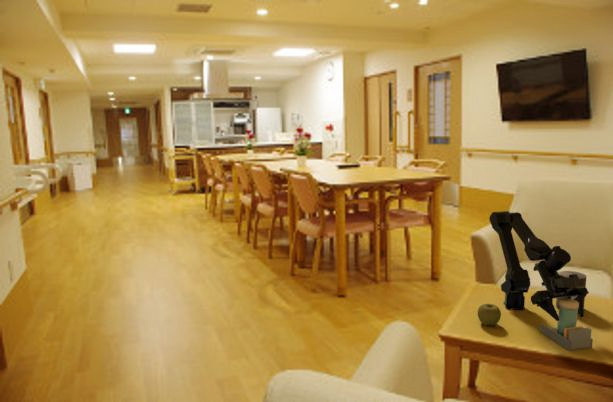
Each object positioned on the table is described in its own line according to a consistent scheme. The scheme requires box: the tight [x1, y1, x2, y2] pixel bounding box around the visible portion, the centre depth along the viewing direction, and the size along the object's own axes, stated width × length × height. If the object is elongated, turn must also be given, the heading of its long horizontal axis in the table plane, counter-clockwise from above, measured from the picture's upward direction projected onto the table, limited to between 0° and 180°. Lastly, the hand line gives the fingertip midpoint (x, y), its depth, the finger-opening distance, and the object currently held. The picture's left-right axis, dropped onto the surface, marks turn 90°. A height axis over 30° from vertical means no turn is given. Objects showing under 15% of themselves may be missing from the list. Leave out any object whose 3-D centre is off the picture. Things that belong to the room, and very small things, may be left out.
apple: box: [477, 303, 502, 327], centre depth 177 cm, size 8×8×7 cm
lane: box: [539, 323, 594, 352], centre depth 164 cm, size 14×9×6 cm, turn 11°
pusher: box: [564, 325, 585, 339], centre depth 161 cm, size 1×6×5 cm, turn 101°
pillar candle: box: [555, 270, 587, 312], centre depth 189 cm, size 10×10×15 cm
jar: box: [556, 298, 579, 337], centre depth 164 cm, size 6×6×13 cm
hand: (570, 319), depth 162 cm, fingers open, 9 cm apart
